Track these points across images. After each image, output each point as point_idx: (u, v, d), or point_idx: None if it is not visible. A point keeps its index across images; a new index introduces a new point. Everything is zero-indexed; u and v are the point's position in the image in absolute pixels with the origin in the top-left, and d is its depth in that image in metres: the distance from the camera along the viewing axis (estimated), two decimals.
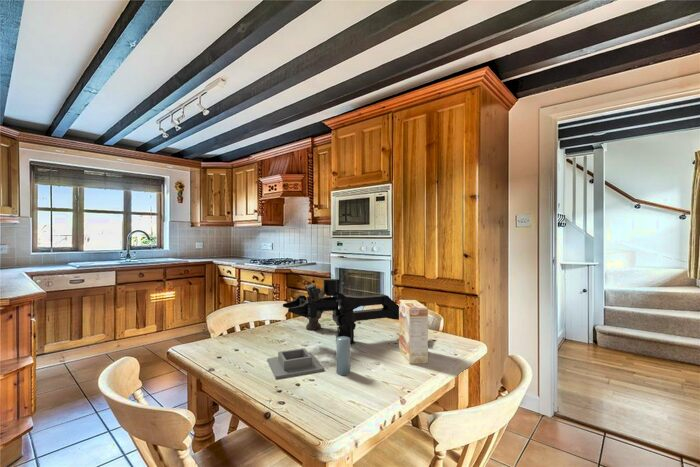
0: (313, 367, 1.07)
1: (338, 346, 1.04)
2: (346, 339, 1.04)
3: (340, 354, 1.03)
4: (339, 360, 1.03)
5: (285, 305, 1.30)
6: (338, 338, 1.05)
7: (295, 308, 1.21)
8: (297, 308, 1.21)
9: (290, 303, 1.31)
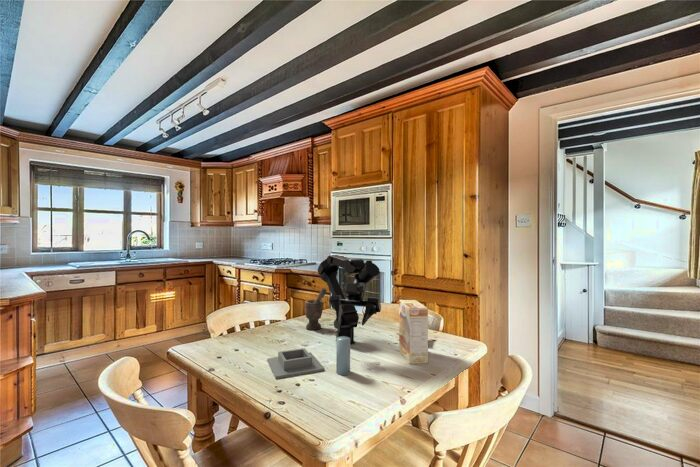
0: (313, 367, 1.07)
1: (338, 346, 1.04)
2: (346, 339, 1.04)
3: (340, 354, 1.03)
4: (339, 360, 1.03)
5: (338, 320, 1.15)
6: (338, 338, 1.05)
7: (366, 317, 1.13)
8: (367, 316, 1.13)
9: (339, 314, 1.16)
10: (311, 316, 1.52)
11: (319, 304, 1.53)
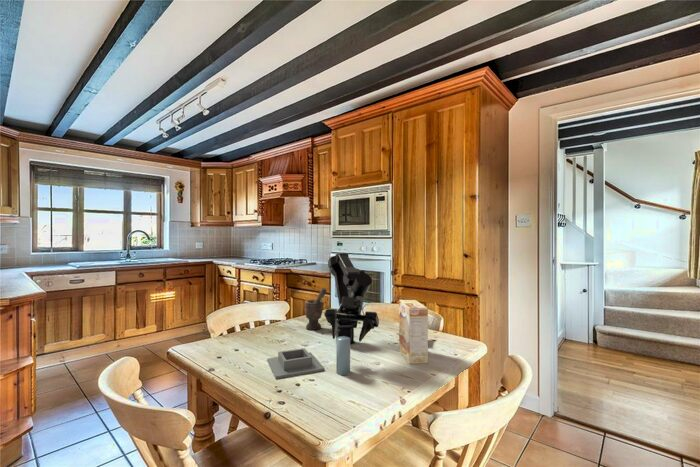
0: (313, 367, 1.07)
1: (338, 346, 1.04)
2: (346, 339, 1.04)
3: (340, 354, 1.03)
4: (339, 360, 1.03)
5: (334, 336, 1.10)
6: (338, 338, 1.05)
7: (363, 333, 1.08)
8: (364, 331, 1.08)
9: (335, 329, 1.11)
10: (311, 316, 1.52)
11: (319, 304, 1.53)
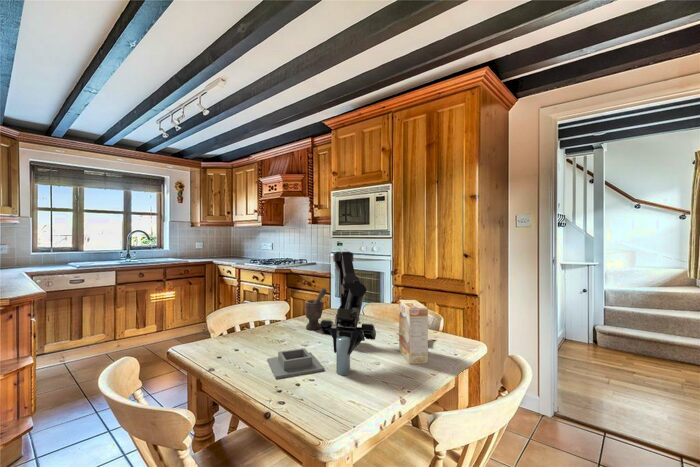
0: (313, 367, 1.07)
1: (338, 346, 1.04)
2: (346, 339, 1.04)
3: (340, 354, 1.03)
4: (339, 360, 1.03)
5: None
6: (338, 338, 1.05)
7: (353, 346, 1.04)
8: (354, 344, 1.05)
9: None
10: (311, 316, 1.52)
11: (319, 304, 1.53)
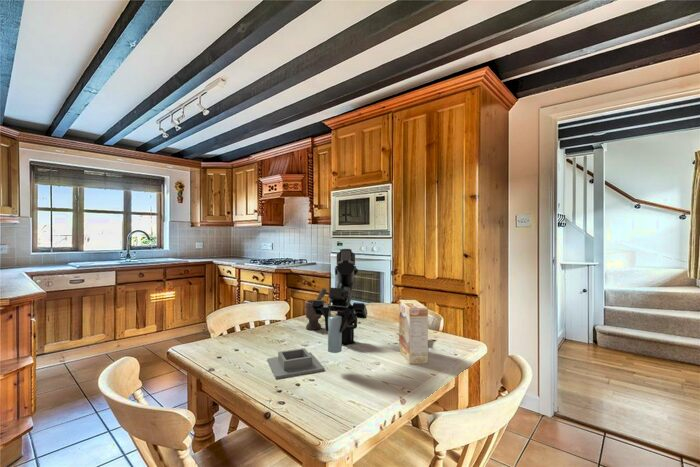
0: (313, 367, 1.07)
1: (330, 324, 1.05)
2: (338, 317, 1.05)
3: (332, 332, 1.04)
4: (330, 338, 1.04)
5: (327, 328, 1.06)
6: (330, 317, 1.06)
7: (344, 324, 1.05)
8: (345, 322, 1.06)
9: None
10: (311, 316, 1.52)
11: None
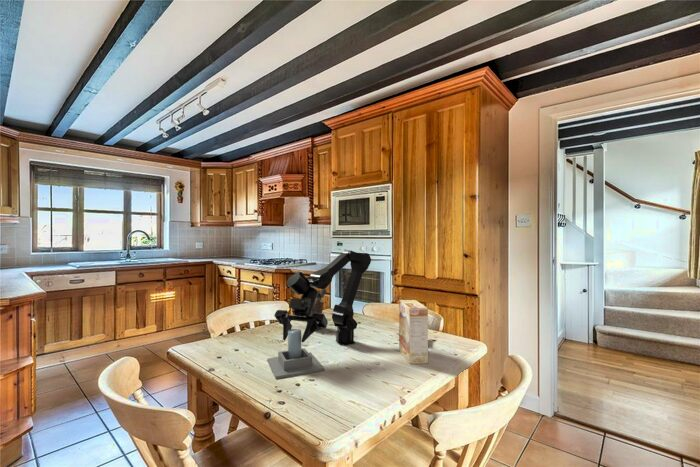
0: (313, 367, 1.07)
1: (289, 338, 1.09)
2: (297, 331, 1.09)
3: (291, 345, 1.08)
4: (289, 351, 1.09)
5: (285, 337, 1.11)
6: (290, 331, 1.10)
7: (306, 334, 1.09)
8: (307, 332, 1.10)
9: (286, 330, 1.12)
10: None
11: (319, 304, 1.53)
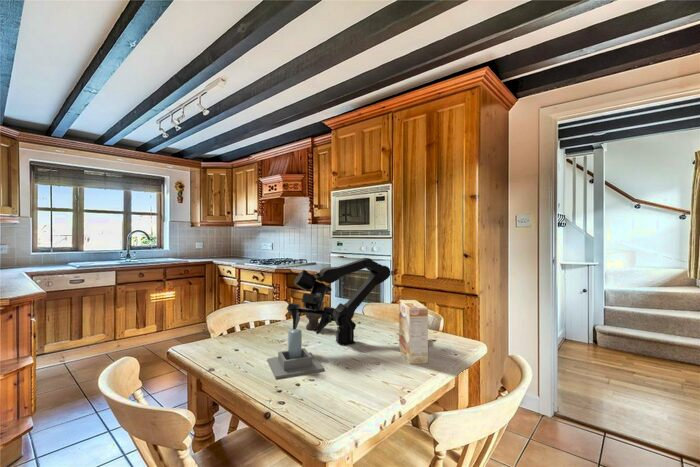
0: (313, 367, 1.07)
1: (289, 338, 1.09)
2: (297, 331, 1.10)
3: (291, 345, 1.08)
4: (290, 351, 1.09)
5: (295, 328, 1.20)
6: (290, 331, 1.10)
7: (321, 326, 1.18)
8: (322, 325, 1.19)
9: (295, 322, 1.21)
10: (311, 316, 1.52)
11: None
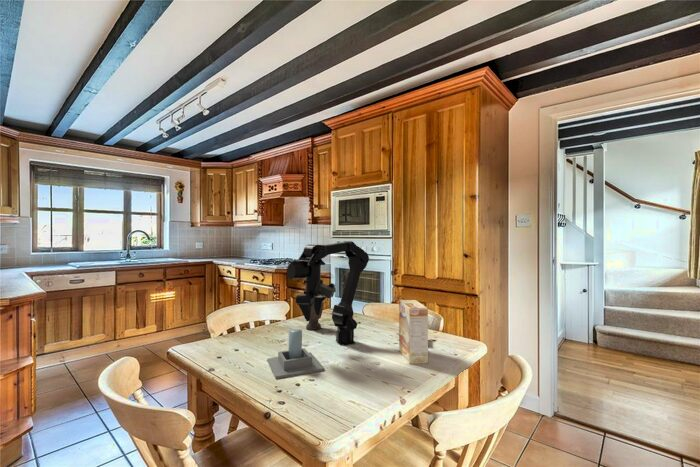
0: (313, 367, 1.07)
1: (290, 338, 1.09)
2: (297, 331, 1.10)
3: (291, 345, 1.09)
4: (290, 351, 1.09)
5: None
6: (290, 330, 1.11)
7: None
8: None
9: None
10: (311, 316, 1.52)
11: None
